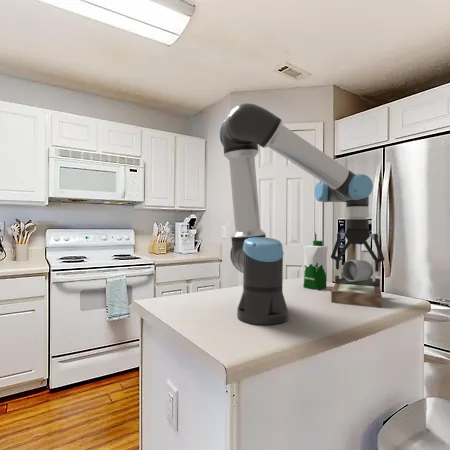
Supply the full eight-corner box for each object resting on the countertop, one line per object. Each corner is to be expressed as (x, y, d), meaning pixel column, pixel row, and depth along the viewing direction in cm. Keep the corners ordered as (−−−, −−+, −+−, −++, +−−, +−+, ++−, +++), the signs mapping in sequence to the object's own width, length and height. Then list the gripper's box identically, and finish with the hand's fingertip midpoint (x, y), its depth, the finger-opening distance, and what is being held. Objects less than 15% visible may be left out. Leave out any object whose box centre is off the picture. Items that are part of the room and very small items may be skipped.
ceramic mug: (374, 281, 115) (374, 259, 115) (358, 283, 112) (358, 261, 112) (351, 277, 125) (351, 257, 125) (335, 278, 121) (335, 258, 121)
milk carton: (329, 287, 138) (330, 241, 138) (318, 290, 132) (318, 242, 132) (311, 284, 145) (312, 240, 145) (300, 287, 139) (300, 241, 138)
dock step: (331, 302, 114) (331, 282, 114) (335, 292, 129) (335, 275, 128) (381, 307, 107) (381, 286, 107) (379, 296, 122) (380, 278, 122)
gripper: (392, 218, 115) (391, 280, 116) (325, 218, 125) (325, 275, 125) (393, 218, 109) (393, 283, 109) (322, 218, 118) (322, 278, 118)
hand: (356, 279), depth 117 cm, fingers closed on ceramic mug, 11 cm apart
